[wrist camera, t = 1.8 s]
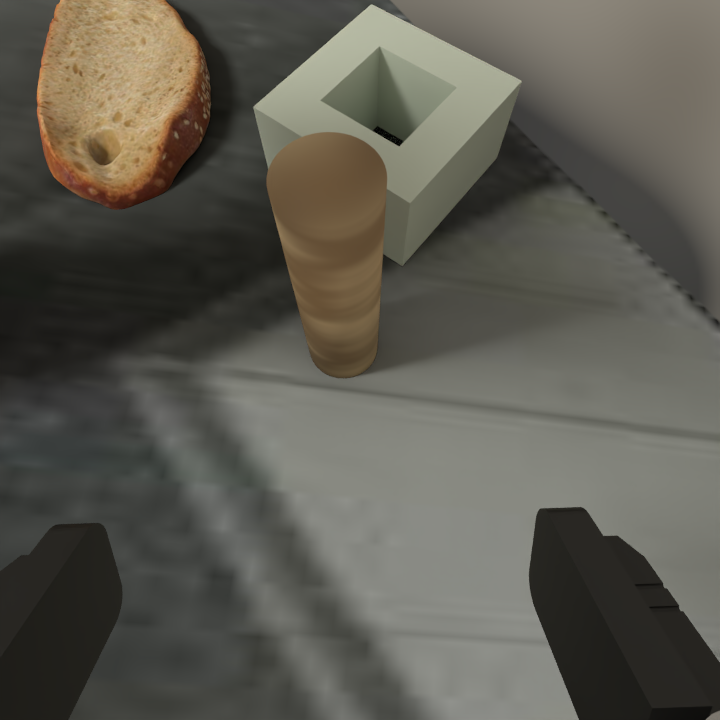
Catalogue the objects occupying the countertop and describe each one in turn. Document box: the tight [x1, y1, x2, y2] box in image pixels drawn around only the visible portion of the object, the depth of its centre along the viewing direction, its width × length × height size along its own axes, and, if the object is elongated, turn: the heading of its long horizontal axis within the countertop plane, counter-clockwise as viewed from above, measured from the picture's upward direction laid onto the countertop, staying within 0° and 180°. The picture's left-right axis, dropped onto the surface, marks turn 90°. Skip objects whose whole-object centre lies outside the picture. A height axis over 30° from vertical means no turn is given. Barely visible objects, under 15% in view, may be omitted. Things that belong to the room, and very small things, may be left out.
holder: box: [253, 4, 522, 266], centre depth 32 cm, size 11×11×6 cm
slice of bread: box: [37, 0, 211, 210], centre depth 36 cm, size 18×18×4 cm
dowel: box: [267, 132, 387, 378], centre depth 23 cm, size 4×4×14 cm
